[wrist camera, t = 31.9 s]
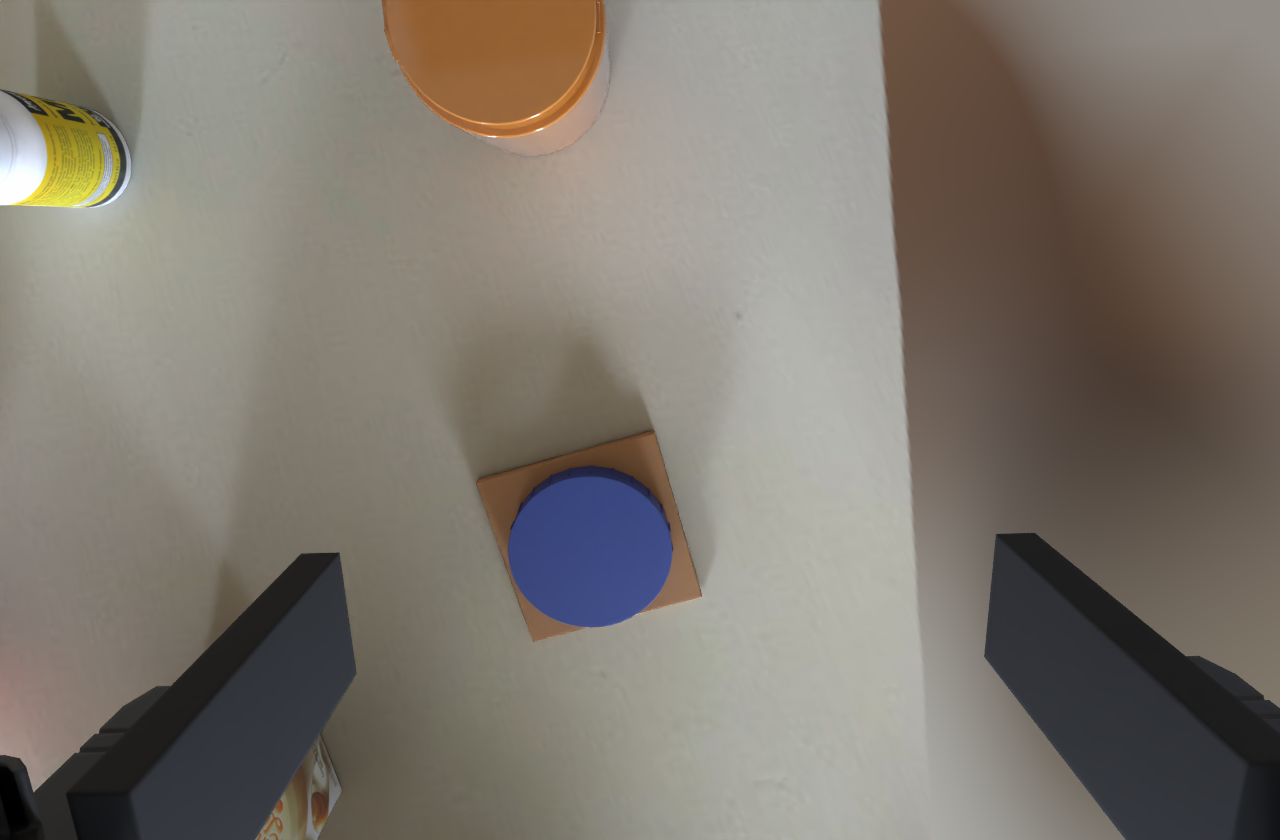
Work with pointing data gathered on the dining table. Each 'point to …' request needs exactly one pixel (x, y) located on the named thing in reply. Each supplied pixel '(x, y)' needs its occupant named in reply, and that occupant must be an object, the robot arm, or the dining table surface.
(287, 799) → the coffee box
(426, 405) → the dining table surface
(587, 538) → the lid
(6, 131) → the supplement bottle
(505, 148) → the jar
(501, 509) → the coaster
